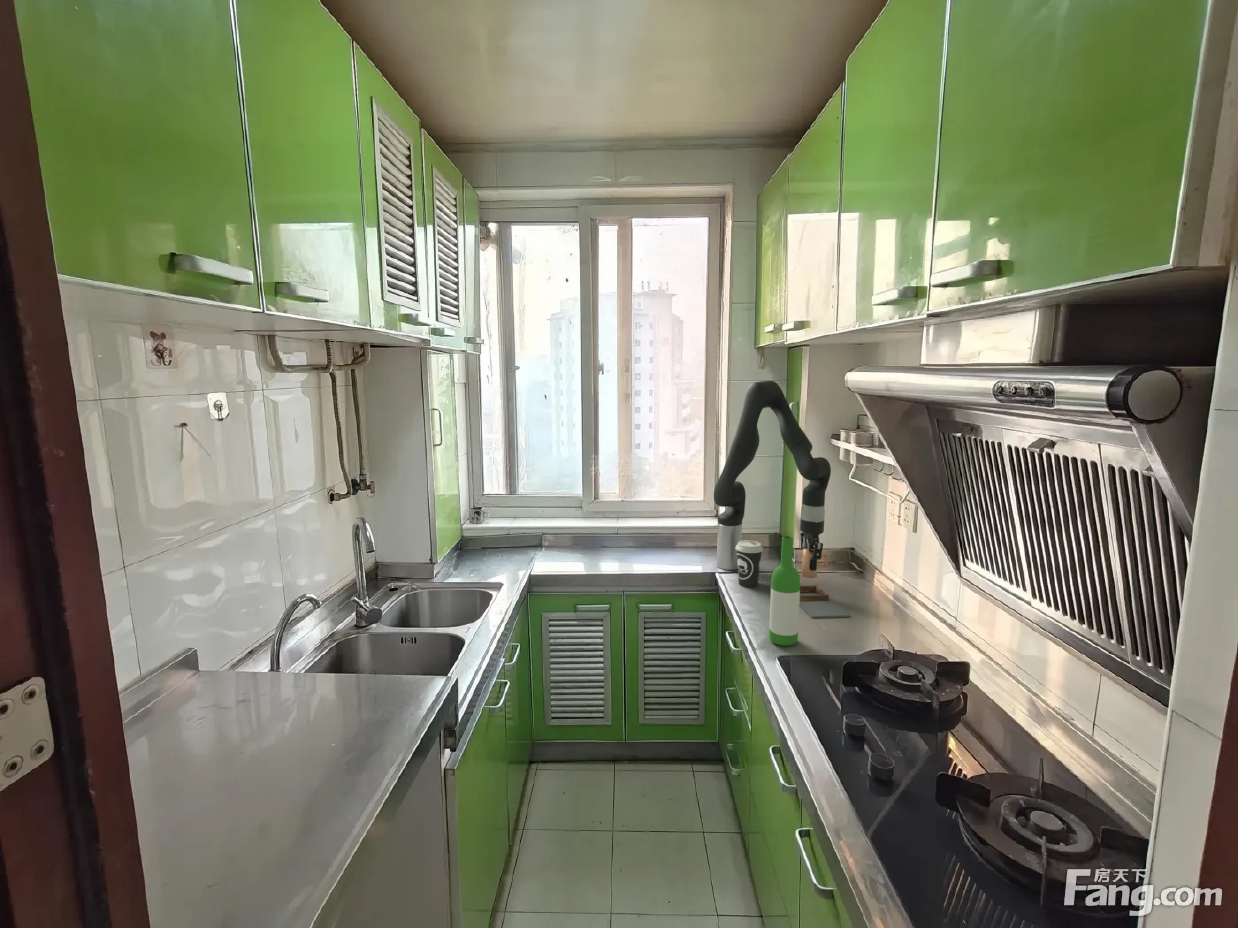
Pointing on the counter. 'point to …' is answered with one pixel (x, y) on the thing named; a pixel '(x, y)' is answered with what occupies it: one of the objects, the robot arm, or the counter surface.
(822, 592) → the holder
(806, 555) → the orange mug
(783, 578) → the wine bottle
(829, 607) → the mat
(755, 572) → the coffee cup
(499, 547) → the counter surface
